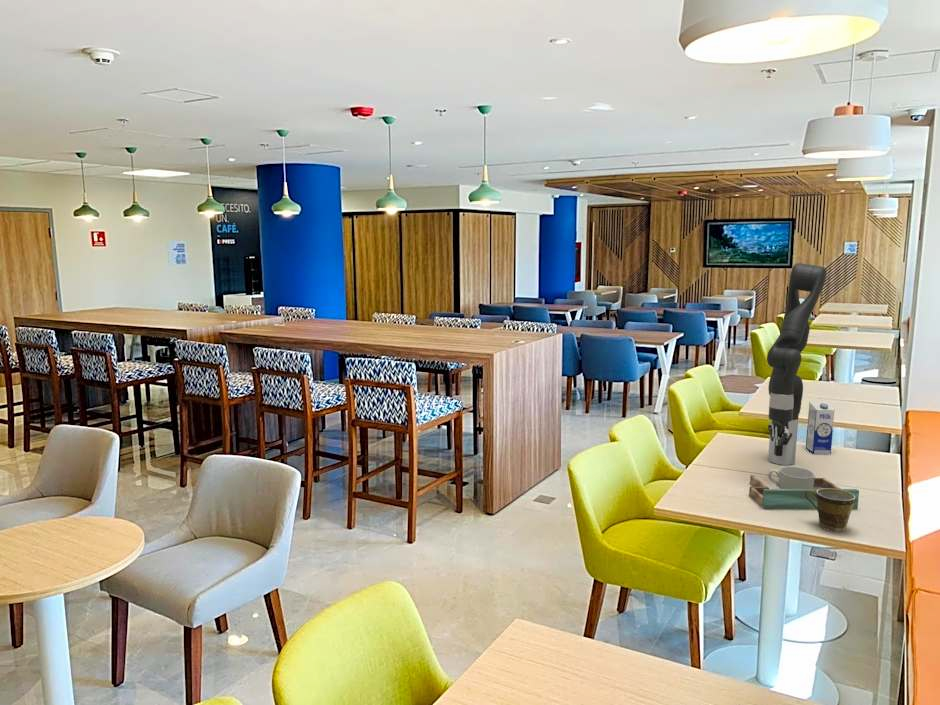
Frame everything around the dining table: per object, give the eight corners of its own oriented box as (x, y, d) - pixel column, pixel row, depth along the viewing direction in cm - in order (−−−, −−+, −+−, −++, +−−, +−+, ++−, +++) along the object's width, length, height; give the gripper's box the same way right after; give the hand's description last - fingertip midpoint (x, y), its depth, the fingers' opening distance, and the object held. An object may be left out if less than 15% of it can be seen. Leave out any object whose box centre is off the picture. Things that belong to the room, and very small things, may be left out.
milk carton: (822, 449, 274) (827, 401, 271) (831, 454, 267) (835, 405, 264) (804, 449, 274) (808, 400, 271) (812, 454, 267) (816, 404, 264)
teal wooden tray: (735, 483, 234) (736, 466, 233) (819, 483, 234) (821, 467, 234) (764, 509, 212) (765, 490, 211) (857, 509, 212) (859, 490, 211)
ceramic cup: (856, 526, 199) (859, 493, 197) (847, 537, 191) (850, 503, 190) (808, 514, 207) (810, 483, 206) (798, 524, 200) (800, 492, 198)
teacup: (814, 492, 227) (816, 468, 225) (811, 502, 217) (813, 478, 216) (769, 484, 234) (770, 462, 232) (764, 494, 224) (766, 471, 223)
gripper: (761, 402, 239) (758, 450, 242) (779, 410, 226) (776, 461, 229) (782, 402, 240) (779, 450, 242) (801, 410, 227) (798, 461, 229)
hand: (778, 455), depth 235 cm, fingers closed
